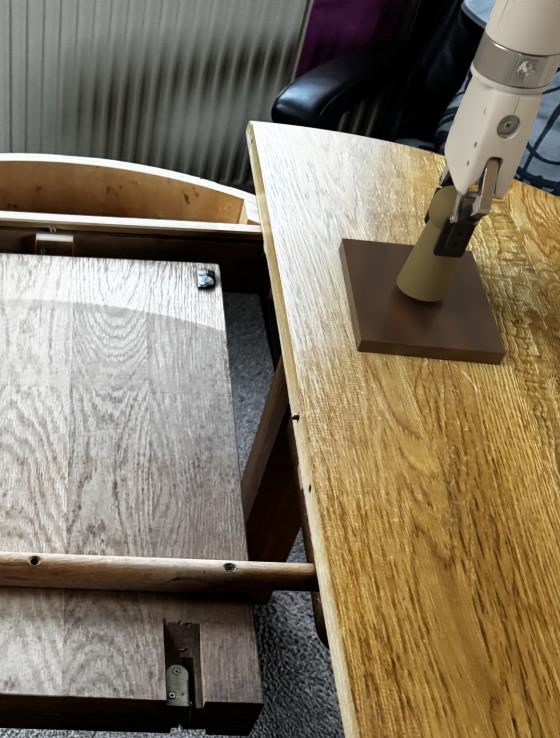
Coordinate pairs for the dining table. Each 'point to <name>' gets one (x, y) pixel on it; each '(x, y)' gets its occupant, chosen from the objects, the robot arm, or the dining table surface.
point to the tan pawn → (431, 253)
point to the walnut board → (417, 308)
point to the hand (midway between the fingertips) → (442, 238)
